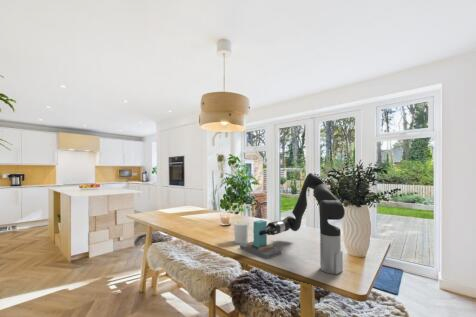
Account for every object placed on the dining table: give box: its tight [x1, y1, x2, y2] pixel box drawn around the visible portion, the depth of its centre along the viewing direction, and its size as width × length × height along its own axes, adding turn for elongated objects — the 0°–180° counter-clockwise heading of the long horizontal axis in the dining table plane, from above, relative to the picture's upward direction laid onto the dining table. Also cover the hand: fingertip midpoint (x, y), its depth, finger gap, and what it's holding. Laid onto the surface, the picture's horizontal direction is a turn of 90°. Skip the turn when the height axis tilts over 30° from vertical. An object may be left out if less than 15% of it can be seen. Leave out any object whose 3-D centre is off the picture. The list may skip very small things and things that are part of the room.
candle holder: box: [233, 221, 250, 245], centre depth 161 cm, size 10×10×12 cm
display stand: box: [239, 240, 282, 260], centre depth 143 cm, size 22×12×4 cm, turn 41°
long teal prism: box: [253, 219, 268, 248], centre depth 144 cm, size 4×6×14 cm
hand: (256, 232), depth 142 cm, fingers closed on long teal prism, 4 cm apart
